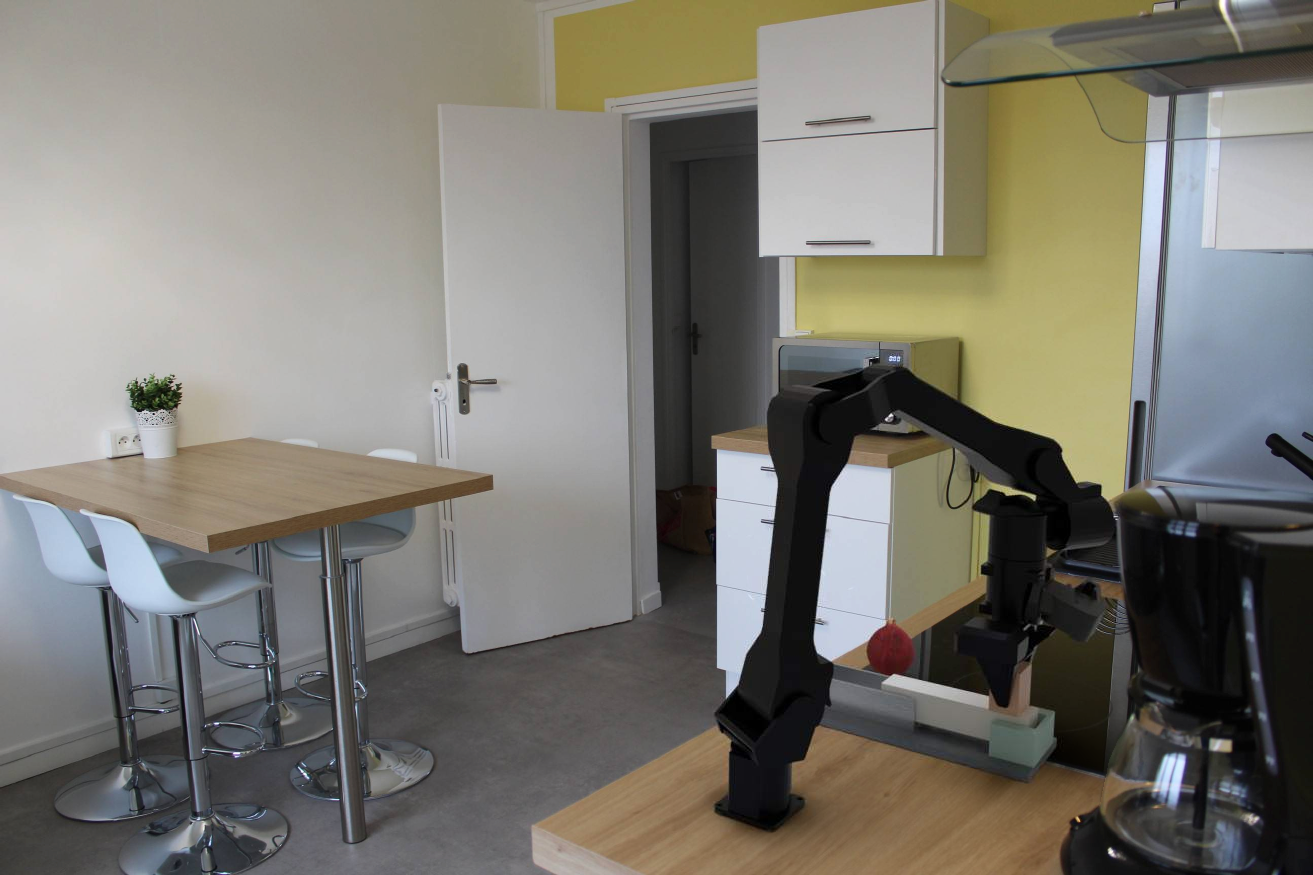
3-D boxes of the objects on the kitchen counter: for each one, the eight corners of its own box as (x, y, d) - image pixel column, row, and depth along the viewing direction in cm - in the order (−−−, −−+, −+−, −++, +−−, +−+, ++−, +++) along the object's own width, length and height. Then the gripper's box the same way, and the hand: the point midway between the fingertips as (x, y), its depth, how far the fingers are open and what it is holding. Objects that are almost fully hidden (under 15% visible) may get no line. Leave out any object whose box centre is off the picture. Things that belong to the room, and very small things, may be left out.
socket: (1033, 767, 101) (1035, 734, 101) (988, 755, 104) (990, 723, 103) (1052, 742, 107) (1054, 711, 106) (1009, 731, 109) (1011, 701, 109)
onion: (918, 689, 124) (920, 626, 122) (870, 689, 124) (872, 626, 123) (907, 671, 129) (909, 611, 128) (862, 671, 130) (864, 611, 128)
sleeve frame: (1028, 782, 100) (1030, 739, 99) (796, 717, 115) (796, 680, 115) (1056, 746, 108) (1058, 706, 107) (835, 690, 123) (836, 655, 123)
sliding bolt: (1026, 751, 103) (1030, 676, 102) (879, 713, 112) (881, 644, 111) (1037, 737, 106) (1041, 664, 105) (893, 701, 116) (896, 634, 114)
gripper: (1076, 589, 91) (1065, 753, 93) (1122, 547, 106) (1112, 689, 108) (955, 569, 98) (948, 723, 100) (1014, 533, 112) (1007, 667, 115)
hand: (1009, 699), depth 105 cm, fingers closed on sliding bolt, 4 cm apart
